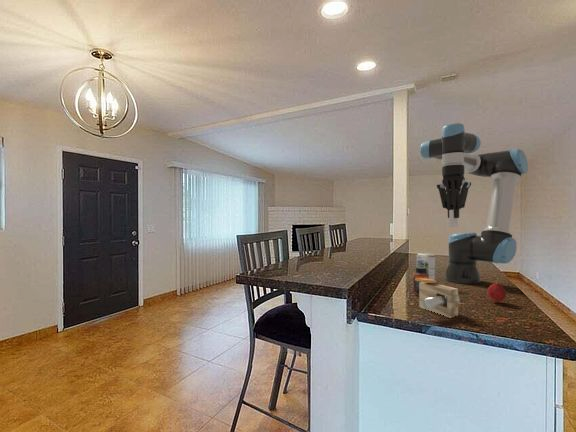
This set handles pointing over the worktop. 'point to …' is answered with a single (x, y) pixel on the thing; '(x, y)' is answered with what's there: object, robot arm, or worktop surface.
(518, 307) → the worktop surface
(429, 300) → the pin
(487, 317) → the worktop surface
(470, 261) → the robot arm
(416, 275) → the supplement bottle
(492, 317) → the worktop surface
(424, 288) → the block
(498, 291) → the onion
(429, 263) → the syrup box
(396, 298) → the worktop surface
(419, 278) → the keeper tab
